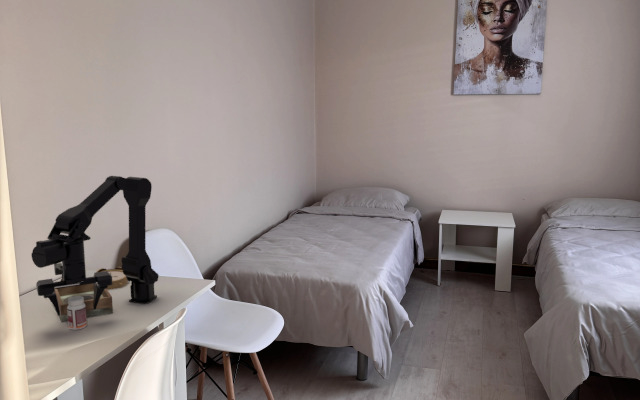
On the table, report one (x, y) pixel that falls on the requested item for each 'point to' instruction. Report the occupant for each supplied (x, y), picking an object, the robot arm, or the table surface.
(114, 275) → the alarm clock
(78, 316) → the pill bottle
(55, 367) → the table surface
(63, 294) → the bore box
